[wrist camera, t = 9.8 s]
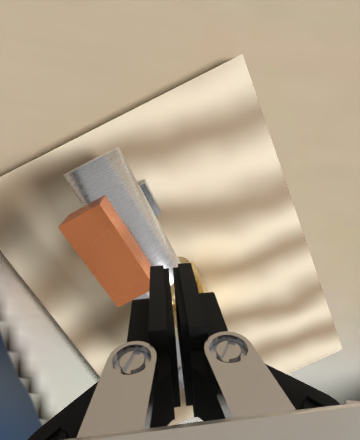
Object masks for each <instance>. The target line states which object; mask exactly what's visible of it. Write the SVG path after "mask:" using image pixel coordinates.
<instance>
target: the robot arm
mask: <svg viewBox="0 0 360 440" xmlns="http://www.w3.org/2000/svg"><path fill="white" fill-rule="evenodd" d="M173 276H174V290H175V304H176V318H177V330H178V339H179V348H180V356H181V365H182V374H183V383H184V391H185V400H186V406H193V413H194V417H199V418H200V419H202V420H203V421H202V422H194V423H186V424H179V425H171V426H168V425H169V424H170V422H171V421H172V420H175V411H174V408H175V407H181V402H180V389H179V375H178V362H177V349H176V336H175V325H174V315H173V305H172V295H171V285H170V275H169V268H164V267H163V265H159V266H150V287H149V298H146V299H136V300H132V305H131V313H130V321H129V328H128V336H127V343H124V344H122V345H120V346H118V347H117V348H115V349H114V350H113V351H112V352H111V354H110V355H109V357H108V359H107V361H106V364H105V366H104V369H103V371H102V374H101V376H100V379H99V381H98V382H97V383H96V384H94V385H93V386H92V387H91V388H89V389H88V390H87V391H86V392H84V393H83V394H82V395H81V396H79V397H78V398H77V399H76V400H74V401H73V402H72V403H71V404H69V405H68V406H67V407H66V408H64V409H63V410H62V411H61V412H59V413H58V414H57V415H55V416H54V417H53V418H52V419H50V420H49V421H48V422H47V423H45V424H44V425H43V426H42V427H40V429H38V430H37V431H36V432H35V433H34V434H33V435H32V436H31V437H30V438H29V439H28V440H360V401H353V400H345V404H339V403H338V402H337V401H336V400H335V399H333V398H332V397H330V396H329V395H327V394H325V393H323V392H321V391H319V390H317V389H315V388H313V387H311V386H309V385H307V384H305V383H303V382H301V381H299V380H297V379H295V378H293V377H291V376H289V375H287V374H285V373H283V372H281V371H279V370H277V369H275V368H273V367H271V366H269V365H267V364H265V363H264V361H263V360H262V358H261V357H260V355H259V354H258V353H257V351H256V350H255V348H254V347H253V345H252V344H251V342H250V341H249V340H248V339H247V338H246V337H244V336H242V335H241V334H238V333H235V332H228V329H227V326H226V324H225V321H224V318H223V315H222V313H221V310H220V307H219V304H218V302H217V299H216V296H215V294H214V292H207V293H199V291H198V287H197V283H196V280H195V276H194V272H193V269H192V265H191V263H181V264H178V267H175V268H173Z"/></svg>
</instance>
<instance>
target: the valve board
mask: <svg viewBox="0 0 360 440" xmlns="http://www.w3.org/2000/svg"><path fill="white" fill-rule="evenodd" d="M117 147H119V149H120V150H121V152H122V154H123V156H124V158H125V160H126V162H127V163H128V165H129V167H130V169H131V171H132V173H133V175H134V177H135V178H136V180H137V182H138V183H139V182H141V181H143V180H146V182H147V184H148V186H149V188H150V190H151V192H152V194H153V196H154V197H155V199H156V201H157V203H158V205H159V207H160V209H161V214H160V215H158V216H156V218H157V220H158V221H159V223H160V225H161V227H162V229H163V231H164V233H165V235H166V236H167V238H168V240H169V242H170V244H171V246H172V248H173V249H174V251H175V253H176V255H177V257H184V258H186V259H188V260H189V262H192V261H193V262H194V264H195V266H196V268H197V270H198V272H199V274H200V275H201V277H202V279H203V281H204V283H205V285H206V287H207V289H208V291H209V292H214V294H215V296H216V299H217V302H218V304H219V307H220V310H221V313H222V315H223V318H224V321H225V324H226V326H227V329H228V332H235V333H238V334H241V335H242V336H244V337H246V338H247V339H248V340H249V341H250V342H251V344H252V345H253V347H254V348H255V350H256V351H257V353H258V354H259V355H260V357H261V358H262V360H263V361H264V363H265V364H267V365H269V366H271V367H273V368H275V369H277V370H279V371H281V372H283V373H285V374H289V373H291V372H293V371H295V370H298V369H300V368H302V367H304V366H306V365H309V364H311V363H313V362H315V361H318V360H320V359H322V358H324V357H326V356H329V355H331V354H333V353H335V352H338V351H340V350H342V347H341V344H340V341H339V338H338V335H337V332H336V329H335V326H334V323H333V320H332V317H331V314H330V311H329V308H328V305H327V302H326V299H325V296H324V293H323V290H322V288H321V285H320V282H319V279H318V276H317V273H316V270H315V267H314V264H313V261H312V258H311V255H310V252H309V249H308V246H307V243H306V240H305V237H304V234H303V231H302V228H301V225H300V222H299V220H298V217H297V214H296V211H295V208H294V205H293V202H292V199H291V196H290V193H289V190H288V187H287V184H286V181H285V178H284V175H283V172H282V169H281V166H280V163H279V160H278V157H277V154H276V152H275V149H274V146H273V143H272V140H271V137H270V134H269V131H268V128H267V125H266V122H265V119H264V116H263V113H262V110H261V107H260V104H259V101H258V98H257V95H256V92H255V89H254V86H253V84H252V81H251V78H250V75H249V72H248V69H247V66H246V63H245V60H244V57H243V54H241V55H239V56H237V57H235V58H233V59H231V60H229V61H227V62H225V63H223V64H221V65H219V66H218V67H216V68H214V69H212V70H210V71H208V72H206V73H204V74H202V75H200V76H198V77H196V78H194V79H192V80H190V81H188V82H186V83H184V84H182V85H180V86H178V87H176V88H174V89H172V90H170V91H168V92H166V93H164V94H162V95H160V96H158V97H156V98H154V99H152V100H150V101H149V102H147V103H145V104H143V105H141V106H139V107H137V108H135V109H133V110H131V111H129V112H127V113H125V114H123V115H121V116H119V117H117V118H115V119H113V120H111V121H109V122H107V123H105V124H103V125H101V126H99V127H97V128H95V129H93V130H91V131H89V132H87V133H85V134H83V135H81V136H79V137H78V138H76V139H74V140H72V141H70V142H68V143H66V144H64V145H62V146H60V147H58V148H56V149H54V150H52V151H50V152H48V153H46V154H44V155H42V156H40V157H38V158H36V159H34V160H32V161H30V162H28V163H26V164H24V165H22V166H20V167H18V168H16V169H14V170H12V171H10V172H8V173H7V174H5V175H3V176H1V177H0V251H1V252H2V253H3V255H4V256H5V257H6V258H7V260H8V261H9V262H10V263H11V265H12V266H13V267H14V268H15V270H16V271H17V272H18V274H19V275H20V276H21V277H22V279H23V280H24V281H25V282H26V284H27V285H28V286H29V287H30V289H31V290H32V291H33V293H34V294H35V295H36V296H37V298H38V299H39V300H40V301H41V303H42V304H43V305H44V307H45V308H46V309H47V310H48V312H49V313H50V314H51V315H52V317H53V318H54V319H55V320H56V322H57V323H58V324H59V326H60V327H61V328H62V329H63V331H64V332H65V333H66V334H67V336H68V337H69V338H70V340H71V341H72V342H73V343H74V345H75V346H76V347H77V348H78V350H79V351H80V352H81V353H82V355H83V356H84V357H85V359H86V360H87V361H88V362H89V364H90V365H91V366H92V367H93V369H94V370H95V371H96V373H97V374H98V375H99V376H101V374H102V371H103V369H104V366H105V364H106V361H107V359H108V357H109V355H110V354H111V352H112V351H113V350H114V349H115V348H117V347H118V346H120V345H122V344H124V343H127V336H128V328H129V321H130V313H131V305H132V301H130V302H128V303H126V304H124V305H122V306H120V307H117V306H116V304H115V303H114V302H113V300H112V299H111V298H110V296H109V295H108V294H107V292H106V291H105V290H104V288H103V287H102V286H101V284H100V283H99V282H98V280H97V279H96V278H95V276H94V275H93V274H92V272H91V271H90V270H89V268H88V267H87V266H86V264H85V263H84V262H83V260H82V259H81V258H80V256H79V255H78V254H77V252H76V251H75V250H74V248H73V247H72V246H71V244H70V243H69V242H68V240H67V239H66V238H65V236H64V235H63V234H62V232H61V231H60V230H59V228H58V227H59V226H60V224H61V223H62V222H63V221H64V220H65V218H66V217H67V216H68V215H69V214H71V213H73V212H75V211H76V210H78V209H80V208H82V207H83V206H82V204H81V202H80V201H79V199H78V198H77V196H76V194H75V193H74V191H73V190H72V188H71V186H70V185H69V183H68V182H67V180H66V178H65V177H64V174H66V173H68V172H69V171H71V170H73V169H75V168H77V167H79V166H81V165H83V164H84V163H86V162H88V161H90V160H92V159H94V158H96V157H98V156H100V155H102V154H104V153H106V152H108V151H110V150H113V149H115V148H117ZM179 389H180V402H181V407H175V408H174V411H175V420H172V421H171V422H170V424H169V425H168V426H171V425H175V424H178V423H180V422H182V421H184V420H187V419H189V418H191V417H193V416H194V413H193V406H186V400H185V391H184V390H183V389H182V388H181V387H180V385H179Z"/></svg>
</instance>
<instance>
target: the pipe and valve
mask: <svg viewBox="0 0 360 440" xmlns="http://www.w3.org/2000/svg"><path fill="white" fill-rule="evenodd" d="M64 177H65V178H66V180H67V182H68V183H69V185H70V186H71V188H72V190H73V191H74V193H75V194H76V196H77V198H78V199H79V201H80V202H81V204H82V206H83V207H84V206H85V205H87V204H89V203H91V202H93V201H94V200H96V199H98V198H100V197H102V196H103V195H106V197H107V198H108V200H109V201H110V203H111V204H112V206H113V207H114V209H115V210H116V212H117V213H118V215H119V217H120V218H121V220H122V221H123V223H124V224H125V226H126V227H127V229H128V230H129V232H130V233H131V235H132V237H133V238H134V240H135V241H136V243H137V244H138V246H139V247H140V249H141V250H142V252H143V253H144V255H145V257H146V258H147V260H148V261H149V263H150V264H151V266H159V265H163V267H164V268H169V275H170V285H171V295H172V305H173V315H174V325H175V326H176V328H177V318H176V304H175V290H174V276H173V268H175V267H178V264H181V263H191V265H192V269H193V272H194V276H195V280H196V283H197V287H198V291H199V293H207V292H209V291H208V289H207V287H206V285H205V283H204V281H203V279H202V277H201V275H200V274H199V272H198V270H197V268H196V266H195V264H194V262H193V261H192V262H189V260H188V259H186V258H184V257H177V255H176V253H175V251H174V249H173V248H172V246H171V244H170V242H169V240H168V238H167V236H166V235H165V233H164V231H163V229H162V227H161V225H160V223H159V221H158V220H157V218H156V216H158V215H160V214H161V209H160V207H159V205H158V203H157V201H156V199H155V197H154V196H153V194H152V192H151V190H150V188H149V186H148V184H147V182H146V180H143V181H141V182H139V183H138V182H137V180H136V178H135V177H134V175H133V173H132V171H131V169H130V167H129V165H128V163H127V162H126V160H125V158H124V156H123V154H122V152H121V150H120V149H119V147H117V148H115V149H113V150H110V151H108V152H106V153H104V154H102V155H100V156H98V157H96V158H94V159H92V160H90V161H88V162H86V163H84V164H83V165H81V166H79V167H77V168H75V169H73V170H71V171H69V172H68V173H66V174H64Z"/></svg>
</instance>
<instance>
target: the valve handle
mask: <svg viewBox="0 0 360 440" xmlns="http://www.w3.org/2000/svg"><path fill="white" fill-rule="evenodd" d="M58 228H59V230H60V231H61V232H62V234H63V235H64V236H65V238H66V239H67V240H68V242H69V243H70V244H71V246H72V247H73V248H74V250H75V251H76V252H77V254H78V255H79V256H80V258H81V259H82V260H83V262H84V263H85V264H86V266H87V267H88V268H89V270H90V271H91V272H92V274H93V275H94V276H95V278H96V279H97V280H98V282H99V283H100V284H101V286H102V287H103V288H104V290H105V291H106V292H107V294H108V295H109V296H110V298H111V299H112V300H113V302H114V303H115V304H116V306H117V307H120V306H122V305H124V304H126V303H128V302H130V301H132V300H136V299H146V298H149V287H150V266H151V264H150V263H149V261H148V260H147V258H146V257H145V255H144V253H143V252H142V250H141V249H140V247H139V246H138V244H137V243H136V241H135V240H134V238H133V237H132V235H131V233H130V232H129V230H128V229H127V227H126V226H125V224H124V223H123V221H122V220H121V218H120V217H119V215H118V213H117V212H116V210H115V209H114V207H113V206H112V204H111V203H110V201H109V200H108V198H107V197H106V195H103V196H102V197H100V198H98V199H96V200H94V201H93V202H91V203H89V204H87V205H85V206H84V207H82V208H80V209H78V210H76V211H75V212H73V213H71V214H69V215H68V216H67V217H66V218H65V220H64V221H63V222H62V223H61V224H60V226H59V227H58ZM175 336H176V349H177V362H178V375H179V385H180V387H181V388H182V389H183V390H184V383H183V374H182V365H181V356H180V348H179V339H178V330H177V328H176V326H175Z"/></svg>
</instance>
